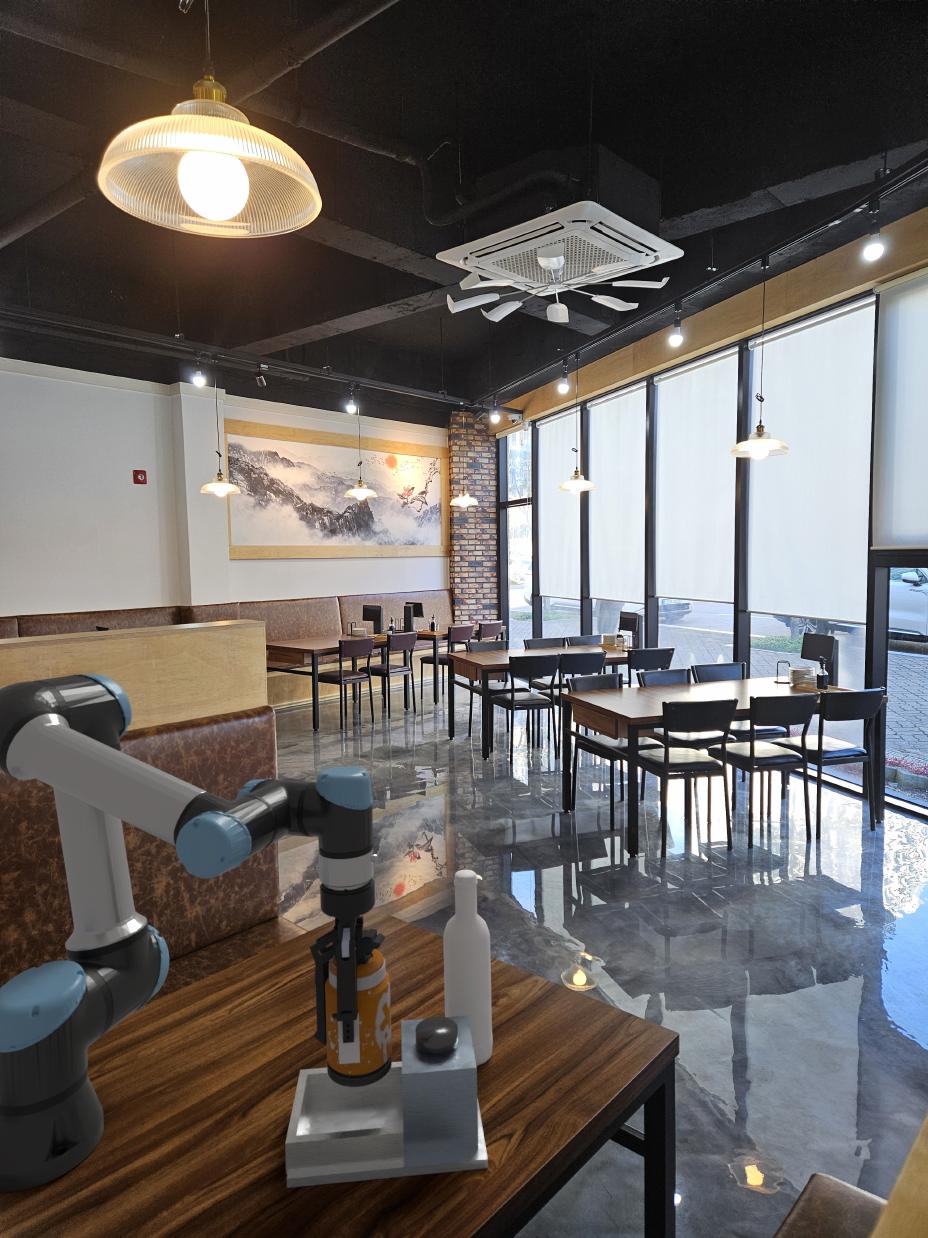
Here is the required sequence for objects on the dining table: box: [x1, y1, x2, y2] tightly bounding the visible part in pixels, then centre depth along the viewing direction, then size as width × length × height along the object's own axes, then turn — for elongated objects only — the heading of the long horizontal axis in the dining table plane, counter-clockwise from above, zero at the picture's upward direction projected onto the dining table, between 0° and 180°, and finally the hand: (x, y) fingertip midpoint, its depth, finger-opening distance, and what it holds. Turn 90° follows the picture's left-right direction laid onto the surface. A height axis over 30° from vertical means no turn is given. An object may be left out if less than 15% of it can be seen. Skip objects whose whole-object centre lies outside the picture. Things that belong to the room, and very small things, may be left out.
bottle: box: [442, 869, 494, 1067], centre depth 116 cm, size 8×8×30 cm
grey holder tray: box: [284, 1015, 489, 1189], centre depth 99 cm, size 26×16×14 cm, turn 96°
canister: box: [309, 928, 393, 1087], centre depth 99 cm, size 9×11×20 cm
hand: (351, 1039), depth 98 cm, fingers closed on canister, 9 cm apart
